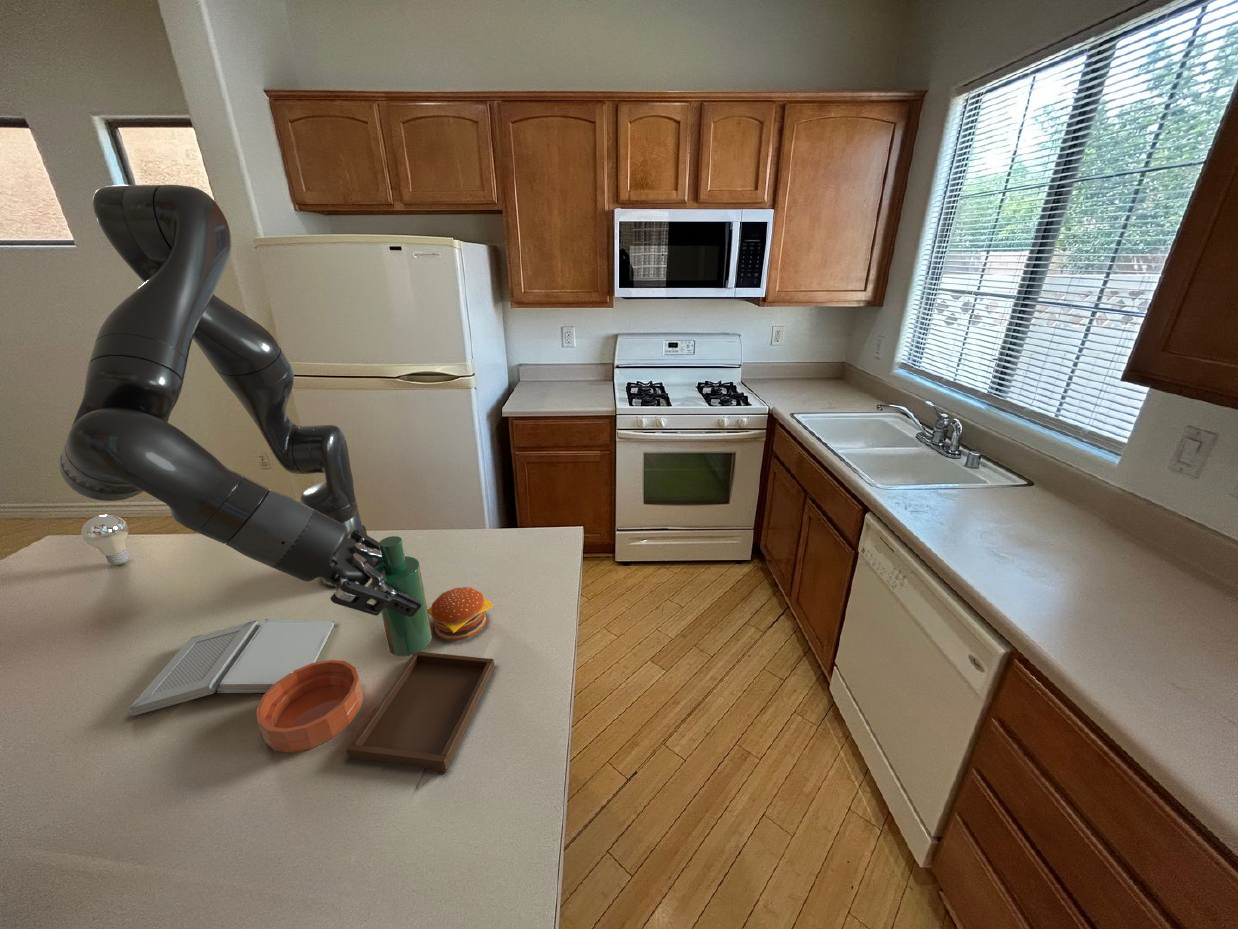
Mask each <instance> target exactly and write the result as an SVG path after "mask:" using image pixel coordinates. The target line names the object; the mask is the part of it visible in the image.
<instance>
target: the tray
mask: <svg viewBox="0 0 1238 929" xmlns="http://www.w3.org/2000/svg"><path fill="white" fill-rule="evenodd" d="M495 669H496V666H495V659H494V658H486V657H477V656H467V655H456V654H449V653H448V654H445V653H437V652H427V651H420V652H418V653H415V654H413V655H410V658H409V659H408V661H407V662H406V663H405V665H404V666H403V668H402V669H401V671H400V672H399V674H398V675H397V676H396V678H395V679H394V681H393V682H392V684H391V685H390V686H389V688H388V689H387V691H386V692H385V694H384V695H383V696H382V698H381V699H380V701H379V702H378V704H377V705H376V706H375V708H374V709H373V711H372V712H371V714H370V715H369V716H368V718H367V719H366V721H365V723H364V724H363V726H361V728H360V729H359V731H358V732H357V734H356V735H355V737H354V738H353V739H352V741H351V742H350V743H349V745H348V747H347V748H346V753H347V756H348V758H349V759H358V760H364V761H374V762H380V763H388V764H389V763H390V764H397V765H405V766H412V767H421V768H424V771H432V772H439V773H447V772H448V770H449V767H450V765H451V764H452V761H453V759H454V757H455V755H456V753H457V750H458V748H459V746H460V745H461V743H462V740H463V737H464V736H465V733H466V731H467V729H468V727H469V724H470V723H471V720H472V718H473V716H474V714H475V712H476V710H477V708H478V705H479V703H480V701H481V699H482V697H483V695H484V693H485V691H486V689H487V686H488V684H489V682H490V680H491V679H492V678H491V677H492V675H493V673H494V671H495Z"/></svg>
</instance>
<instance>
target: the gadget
mask: <svg viewBox="0 0 1238 929" xmlns="http://www.w3.org/2000/svg"><path fill="white" fill-rule="evenodd" d="M334 626H335V620H310V619H309V620H304V619H273V618H272V619H270V618H269V619H268V618H266V619H264V621H263V622H258V619H257V620H251V621H248V622H245V623H240V624H237V625H233V626H230V627H226V628H223V629H222V628H221V629H217V630H215V631H211V632H207V633H203V634H198V635H196V636H192V637H190V638H189V639H188V640H187V641H186V642H185V643H184V645H182V647H181V648H180V649H179V650H178V651H177V652H176V654H175V655H174V656H173V657H172V658H171V659H170V660H169V662H168V663H167V664H166V665H165V667H163V668H162V670H161V671H160V672H159V673H158V674H157V675H156V676H155V677H154V679H153V680H152V681H151V682H150V683H149V684H148V685H147V686H146V688H145V689H144V690H143V692H141V694H139V696H138V697H137V698H136V699H135V701H134V702H133V703H132V704H131V705H130V706H129V708H128V709H129V711H130V713H129V715H130V717H135V716H138V715H142V714H145V713H149V712H152V711H156V710H159V709H163V708H166V707H170V706H175V705H178V704H181V703H185V702H188V701H192V700H196V699H199V698H202V697H206V696H209V695H212V694H215V693H217V694H244V693H245V694H249V693H250V694H252V693H253V694H255V693H261V694H263V693H264V694H265V693H266V692H267V691H268V690H269V689H270V688H271V687H272V686H273V685H274V684H275V683H276V682H277V681H279V680H280V679H282V678H283V677H285V676H287V675H288V674H290V673H291V672H293V671H294V670H296V669H299V668H301V667H304V666H306V665H309V664H311V663H315V662H317V660H318V659H319V657H320V654H321V652H322V650H323V648H324V646H325V644H326V642H327V641H328V638H329V637H330V634H331V632H332V630H333V629H334Z"/></svg>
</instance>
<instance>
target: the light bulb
mask: <svg viewBox="0 0 1238 929" xmlns="http://www.w3.org/2000/svg"><path fill="white" fill-rule="evenodd" d="M129 533H130V528H129V524H128V523H127V521H126V520H125V519H123V518H122V517H120V516H118V515H114V514H100V515H96V516H94V517H91V518H89V519H88V520H87V521H86V522H85V523H83V525H82V527H81V530H80V535H81V539H82V540H83V542H85V543H86V544H87V545H89V546H91V547H93V548H95V549H97V550H98V551H99V552H100V553H101V554H102V555H103V556H104V557H105V559H106V561H107V563H108V564H110V565H113V566H122V565H124V564H126V562H127V561H128V560H129V558H130V555H129V553H128V551H127V543H126V542H127V541H126V540H127V538H128V536H129Z"/></svg>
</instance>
